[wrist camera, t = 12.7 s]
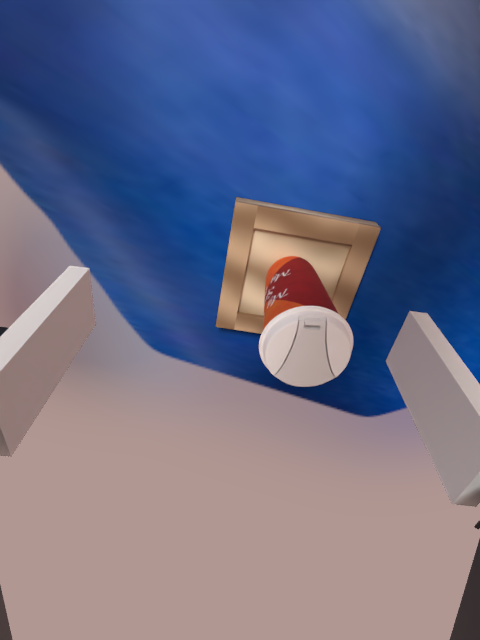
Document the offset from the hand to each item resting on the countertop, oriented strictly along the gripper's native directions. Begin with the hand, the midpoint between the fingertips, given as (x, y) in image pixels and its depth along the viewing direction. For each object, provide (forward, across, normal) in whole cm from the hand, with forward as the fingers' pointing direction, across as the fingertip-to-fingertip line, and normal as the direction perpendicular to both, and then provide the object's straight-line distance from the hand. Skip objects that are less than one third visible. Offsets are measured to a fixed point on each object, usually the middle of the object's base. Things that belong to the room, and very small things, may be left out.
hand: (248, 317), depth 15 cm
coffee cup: (+26, +6, -11) cm, 29 cm away
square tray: (+28, +6, -11) cm, 30 cm away
